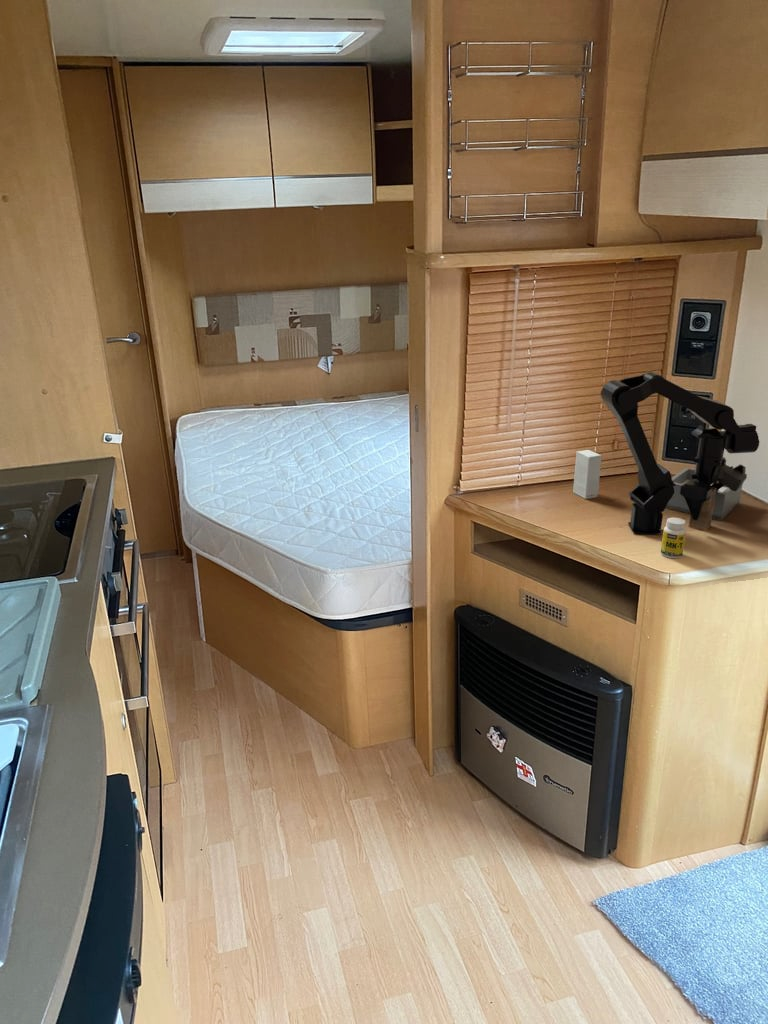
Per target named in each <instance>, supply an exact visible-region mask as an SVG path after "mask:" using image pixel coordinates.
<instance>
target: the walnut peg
mask: <svg viewBox="0 0 768 1024" xmlns="http://www.w3.org/2000/svg"><path fill="white" fill-rule="evenodd" d="M716 489H717V488H715V487H712V493H711V495H710V496H711V497H710V498H709V499H708V500H707V501H705V502H704V503H703V506H702V509H701V512H700V515H699V518H698V520H693V519H692V516H691V514H690V515H689V522H688V527H689V528H692V529H695V530H696V529H697V530H701V531H707V529H709V528H710V527H711V524H712V519H713V518H712V514H713V508H714V501H715V495H716Z"/></svg>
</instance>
